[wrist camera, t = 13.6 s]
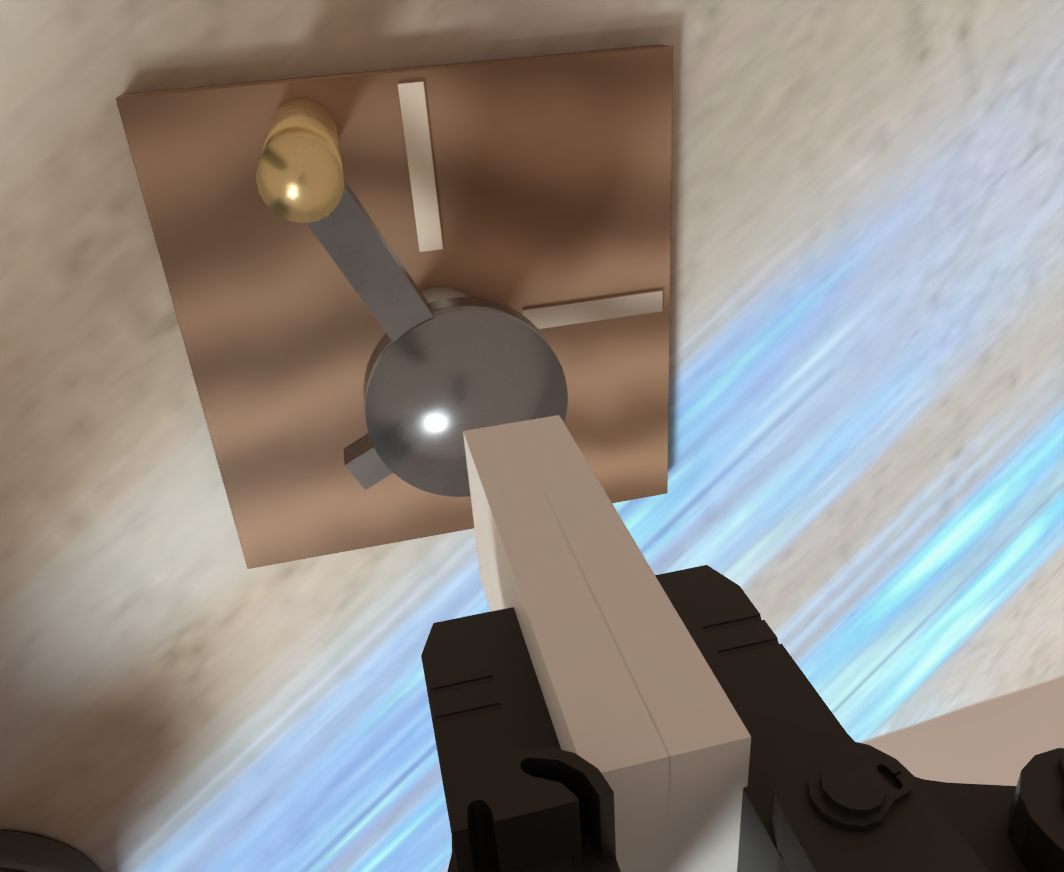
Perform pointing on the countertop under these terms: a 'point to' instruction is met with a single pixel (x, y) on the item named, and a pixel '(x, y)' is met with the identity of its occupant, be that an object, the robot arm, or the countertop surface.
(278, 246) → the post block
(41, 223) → the countertop surface
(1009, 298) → the countertop surface
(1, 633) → the countertop surface
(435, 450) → the crank handle
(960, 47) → the countertop surface
